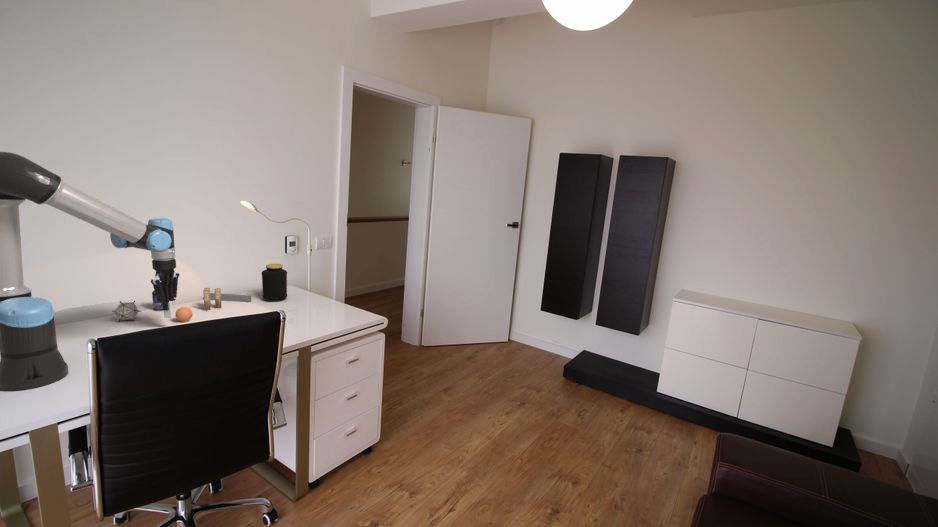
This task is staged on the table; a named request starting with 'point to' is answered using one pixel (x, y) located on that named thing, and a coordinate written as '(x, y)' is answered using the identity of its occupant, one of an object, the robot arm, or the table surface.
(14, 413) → the table surface
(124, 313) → the game die
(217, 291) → the pin
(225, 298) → the back wall
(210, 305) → the pin
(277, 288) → the container
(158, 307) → the pill bottle
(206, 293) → the pin front
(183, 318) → the ball
